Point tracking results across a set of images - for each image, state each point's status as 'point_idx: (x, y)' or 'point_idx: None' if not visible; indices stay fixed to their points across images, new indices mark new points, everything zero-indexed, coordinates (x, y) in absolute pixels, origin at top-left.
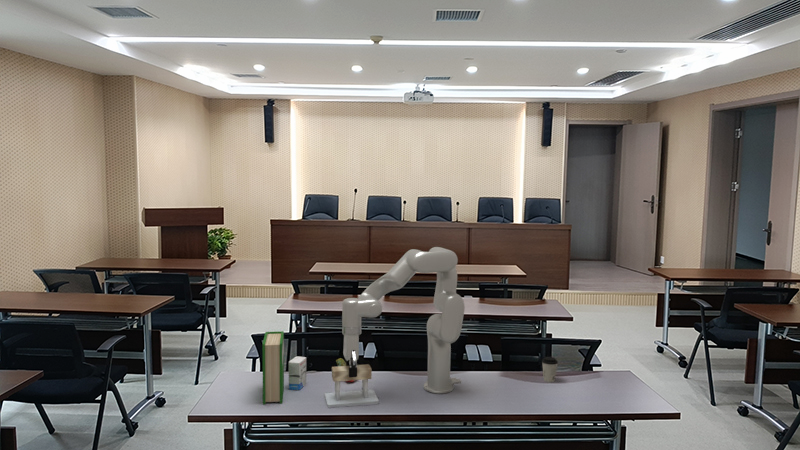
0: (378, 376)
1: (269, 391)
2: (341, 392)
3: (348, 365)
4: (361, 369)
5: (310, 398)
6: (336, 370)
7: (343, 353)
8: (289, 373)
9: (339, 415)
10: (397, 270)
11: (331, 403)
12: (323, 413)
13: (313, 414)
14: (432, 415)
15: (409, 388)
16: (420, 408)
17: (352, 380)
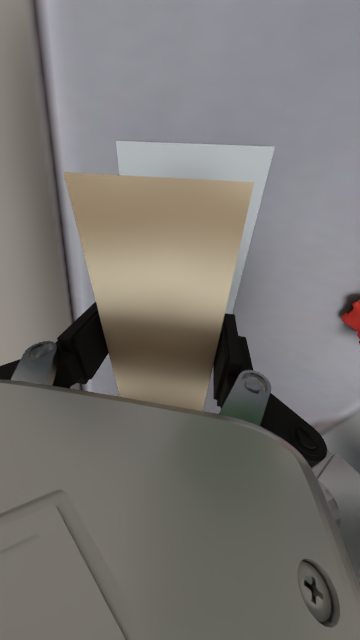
0: (336, 386)
1: None
2: (244, 245)
3: (219, 348)
4: (121, 383)
5: (283, 20)
6: (105, 218)
7: (255, 440)
8: None
9: (53, 190)
10: None
11: (132, 167)
12: (63, 105)
13: (44, 22)
14: (79, 387)
15: (214, 404)
16: (109, 384)
17: (346, 317)
